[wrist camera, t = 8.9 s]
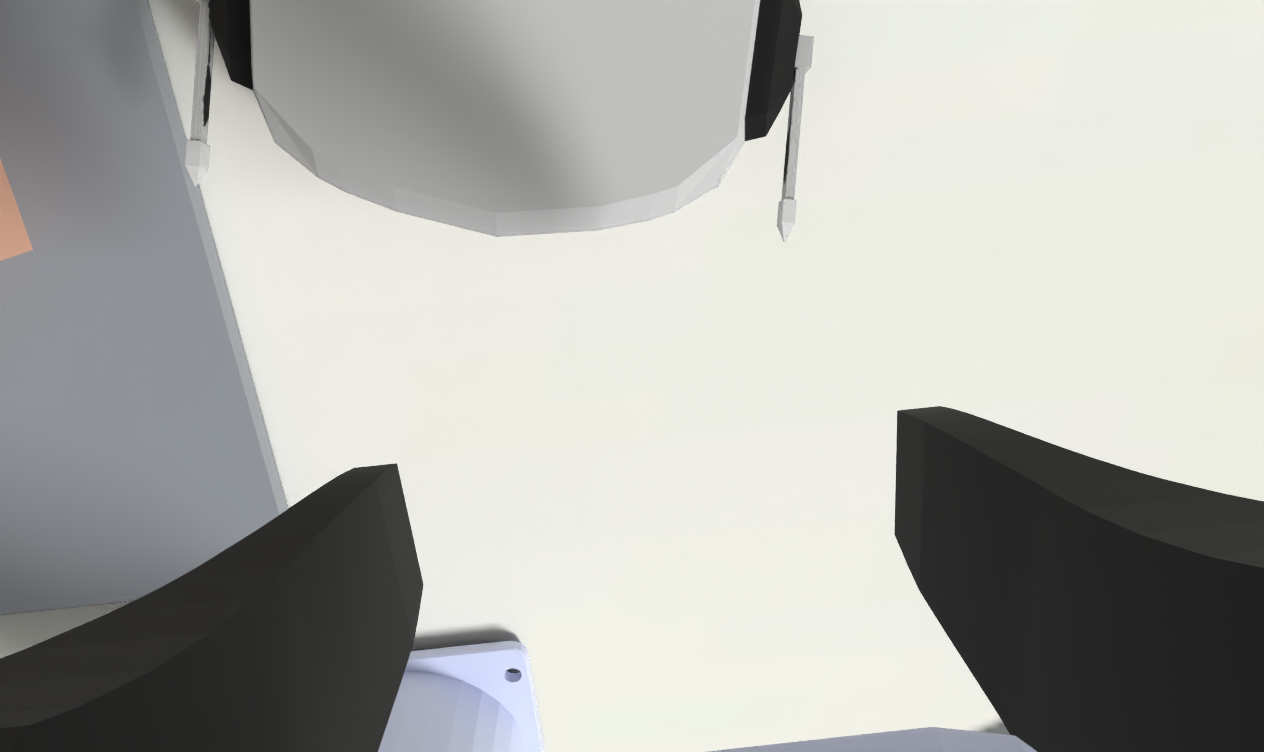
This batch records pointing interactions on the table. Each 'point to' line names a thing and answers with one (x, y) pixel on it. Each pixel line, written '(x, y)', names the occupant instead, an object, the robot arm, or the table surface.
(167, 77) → the baseplate
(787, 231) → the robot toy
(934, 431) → the robot arm
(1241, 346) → the table surface
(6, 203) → the base brick
